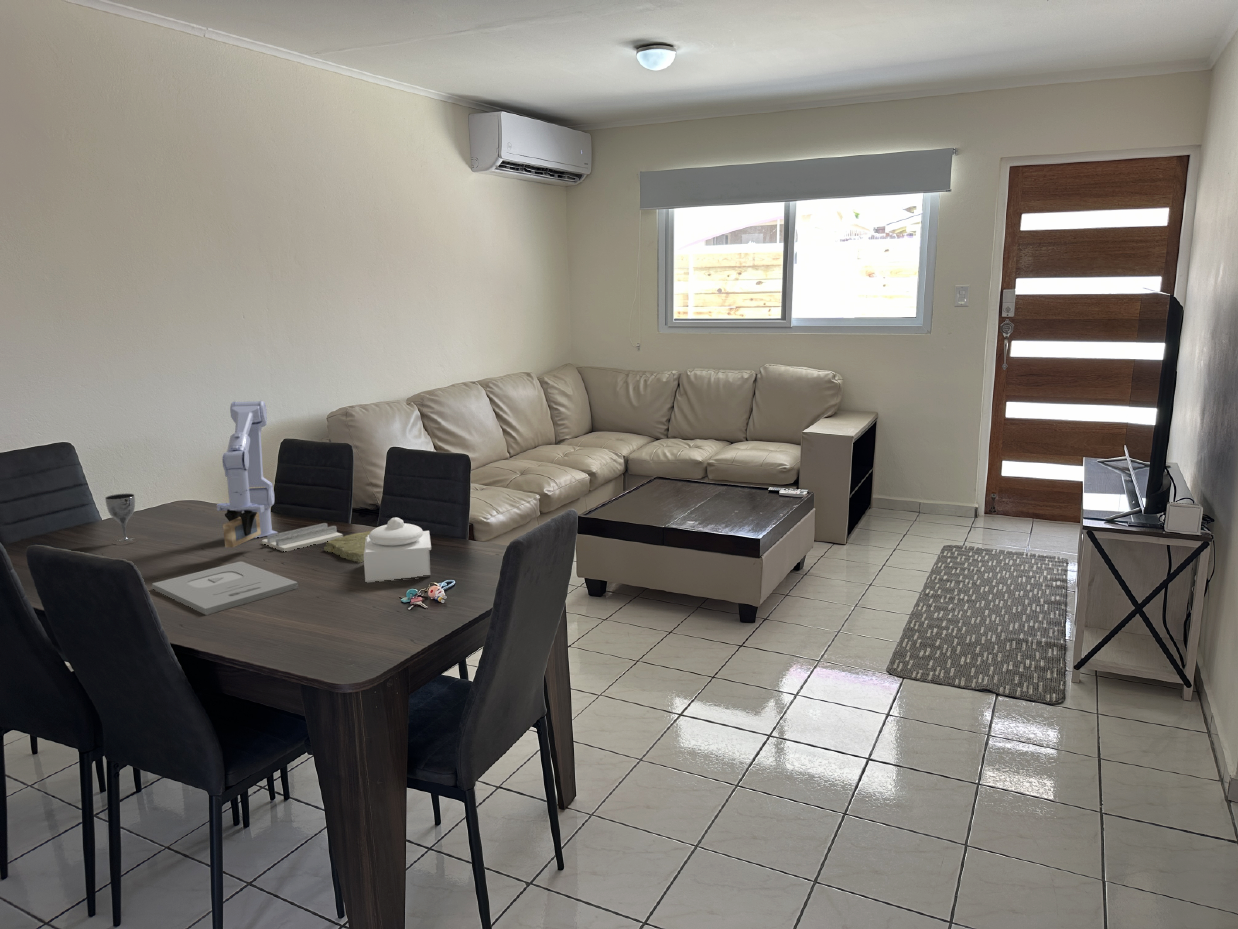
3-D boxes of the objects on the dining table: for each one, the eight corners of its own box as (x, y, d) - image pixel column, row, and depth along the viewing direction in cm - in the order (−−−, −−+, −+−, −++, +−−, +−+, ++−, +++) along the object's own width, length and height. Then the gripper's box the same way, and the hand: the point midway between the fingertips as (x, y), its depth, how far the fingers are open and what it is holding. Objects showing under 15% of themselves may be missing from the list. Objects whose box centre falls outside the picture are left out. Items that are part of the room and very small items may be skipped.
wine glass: (141, 542, 268) (135, 497, 265) (112, 547, 264) (106, 500, 261) (138, 537, 275) (133, 492, 272) (110, 541, 270) (104, 495, 267)
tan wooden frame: (225, 547, 248) (222, 524, 247) (253, 533, 262) (251, 512, 260) (233, 547, 248) (230, 524, 246) (261, 534, 261) (258, 512, 260)
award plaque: (206, 617, 207) (205, 608, 206) (152, 591, 225) (151, 583, 225) (298, 590, 226) (297, 582, 225) (241, 568, 244) (241, 561, 244)
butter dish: (367, 564, 246) (364, 511, 243) (430, 559, 251) (427, 507, 248) (365, 583, 230) (361, 527, 226) (432, 577, 234) (429, 522, 231)
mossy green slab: (370, 539, 273) (369, 528, 272) (410, 550, 261) (409, 539, 260) (319, 553, 258) (318, 541, 258) (358, 565, 246) (358, 553, 246)
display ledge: (262, 543, 267) (261, 534, 266) (319, 530, 281) (319, 521, 281) (284, 552, 258) (283, 542, 257) (343, 537, 273) (342, 528, 272)
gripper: (208, 492, 249) (212, 537, 252) (252, 494, 246) (256, 539, 249) (223, 487, 256) (227, 530, 258) (266, 489, 253) (270, 532, 256)
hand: (243, 534), depth 254 cm, fingers closed on tan wooden frame, 3 cm apart
